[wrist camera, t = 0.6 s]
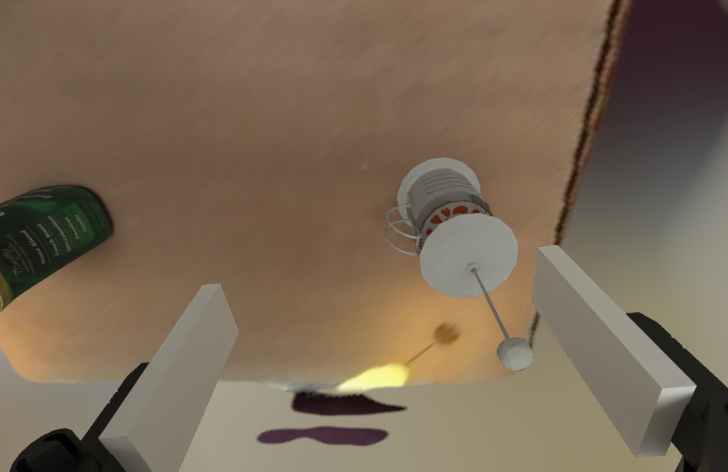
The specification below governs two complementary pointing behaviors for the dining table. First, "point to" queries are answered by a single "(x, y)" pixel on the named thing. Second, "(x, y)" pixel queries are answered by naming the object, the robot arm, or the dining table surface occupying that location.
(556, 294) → the robot arm
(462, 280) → the french press
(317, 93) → the dining table surface
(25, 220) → the coffee jar
